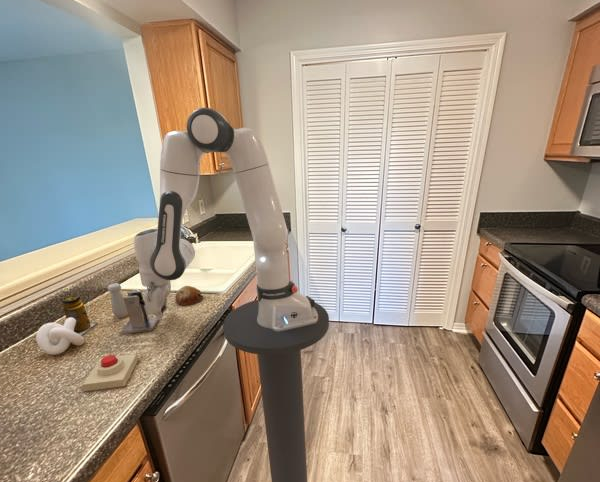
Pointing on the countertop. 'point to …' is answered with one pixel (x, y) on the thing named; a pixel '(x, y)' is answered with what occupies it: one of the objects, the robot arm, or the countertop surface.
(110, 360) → the button
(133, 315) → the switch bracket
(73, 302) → the condiment
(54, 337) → the white knot
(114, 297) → the salt shaker
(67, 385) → the countertop surface
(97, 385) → the button block
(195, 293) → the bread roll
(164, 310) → the switch
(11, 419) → the countertop surface
